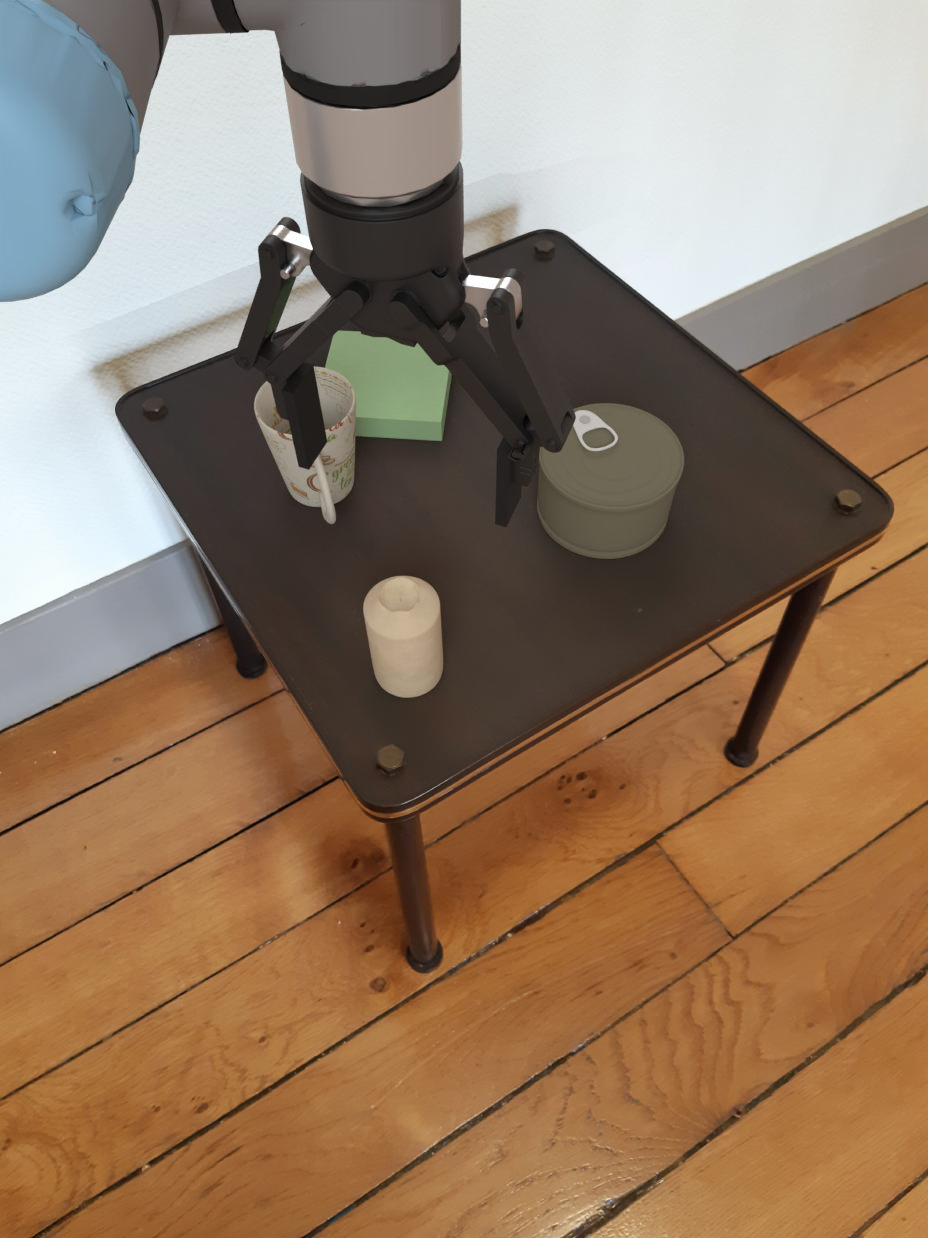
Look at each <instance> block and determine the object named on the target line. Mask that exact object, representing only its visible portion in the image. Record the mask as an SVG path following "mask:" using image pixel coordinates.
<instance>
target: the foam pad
mask: <svg viewBox="0 0 928 1238" xmlns="http://www.w3.org/2000/svg"><path fill="white" fill-rule="evenodd" d="M443 337H444V335H443ZM324 368H327V369H330V370H333V371H335V372H337V373H339V374H341V375H342V376H344V377H345V378H346V379H347V380H348V381H349V382H350V384H351V385H352V387H353V389H354V392H355V397H356V430H355V437H364V438H381V439H396V440H397V439H399V440H412V441H413V440H414V441H416V440H417V441H432V442H442V441H443V437H444V431H445V425H446V419H447V418H446V417H447V410H448V404H449V398H450V390H451V383H452V376H453V375H452V374H451V372H450V371H449V370H448V369H447V368H446V367H445V366H444V365H440V366H438V365H436V364H435V363H434V362H433V361H432V360H431V359H430V357H429V356H428V355H427V354H426V353H425V351H424V350H423V349H422V348H421V347H420V345H419V344H418V343H417V344H416V346H415V347H411V346H407V345H403V344H400V343H398V342H396V341H394V340H392V339H389V338H387V337H371V336H367V335H363V334H361V331H358V330H357V331H356V330H355V331H354V330H340V329H339V330H338V331H337V332H336V333H335V334H334V335H333V336H332V337H331V343H330V346H329V350H328V353H327V358H326V362H325V366H324Z"/></svg>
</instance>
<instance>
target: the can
mask: <svg viewBox="0 0 928 1238" xmlns="http://www.w3.org/2000/svg"><path fill="white" fill-rule="evenodd" d="M573 410H574V413H575V416H576V419H575V422H574V424H573V426H572V428H571V431H570V433H569V435H568V437H567V439H566V442H565V444H564V446H563V448H562V450H561V451H560V452H557V453H552V452H549V451H547V450H546V449H545V448H544V447H540V453H539V466H538V483H537V484H538V485H537V497H536V513H537V517H538V519H539V522H540V524H541V526H542V528H543V530H544V531H545V533H547V535H548V536H549V537H550V538H551V539H552V540H553V541H554V542H556V543H557V544H558V545H560V546H561V547H562V548H564V549H566V550H568V551H570V552H572V553H574V554H577V555H580V556H583V557H587V558H592V559H599V560H615V559H623V558H626V557H627V558H628V557H631V556H634V555H637V554H639V553H641V552H643V551H644V550H646V549H648V548H649V547H651V546H652V545H653V544H654V543H656V541H658V539H659V538H660V537H661V535H662V534H663V532H664V530H665V528H666V526H667V524H668V519H669V515H670V511H671V507H672V504H673V500H674V497H675V494H676V493H675V492H676V490H677V485H678V484H679V482H680V480H681V478H682V475H683V473H684V472H683V471H684V467H685V454H684V449H683V446H682V444H681V442H680V439H679V438H678V436H677V435H676V433H675V432H674V431H673V429H672V428H671V427H670V426H669V425H668V424H667V423H665V422H664V421H663V420H661V419H660V418H658V417H657V416H656V415H654V414H652V413H650V412H648V411H646V410H643V409H640V408H638V407H634V406H631V405H627V404H621V403H612V402H601V403H591V404H586V405H580V406H578V407H575V408H573Z"/></svg>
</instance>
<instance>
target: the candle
mask: <svg viewBox="0 0 928 1238" xmlns="http://www.w3.org/2000/svg"><path fill="white" fill-rule="evenodd" d="M362 606H363V607H362V611H363V618H364V623H365V629H366V634H367V641H368V646H369V647H368V648H369V652H370V658H371V664H372V668H373V674H374V677H375V679H376V681H377V683H378V684H379V686H380V687H381V688H382V689H383V690H384V691H385V692H386V693H389V694H390V695H393V696H395V697H399V698H405V699H406V698H407V699H409V698H410V699H411V698H417V697H420V696H423V695H425V694H427V693H428V692H430V691H432V690H433V689H434V688H435V687H436V686H437V684H438V683H439V681H440V680H441V678H442V675H443V671H444V649H443V632H442V631H443V630H442V629H443V628H442V616H441V615H442V614H441V601H440V597H439V594H438V593H437V591H436V590H435V589H434V587H433V586H432V585H431V584H430V583H428V582H427V581H425V580H423V579H421V578H419V577H416V576H412V575H411V576H410V575H396V576H391V577H388V578H385V579H383V580H381V581H379V582H377V584H375V585H374V586H373V587H372V588H371V589H369V591H368V592H367V594H366V596H365V598H364V601H363V605H362Z"/></svg>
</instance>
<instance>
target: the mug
mask: <svg viewBox="0 0 928 1238" xmlns="http://www.w3.org/2000/svg"><path fill="white" fill-rule="evenodd" d="M314 371H315V376H316V382H317V387H318V393H319V398H320V404H321V409H322V415H323V420H324V426H325V431H326V437H327V443H326V445H325V446H324V448H323V449H322V451H321V452H320V454H319V455H318V457H317V459H316V460H315V462H314V463H313V465H312V466H311V468H310V469H309V470H308V469H304V468H301V467H299V466H298V461H297V457H296V452H295V448H294V443H293V439H292V434H291V430H290V425H289V421H288V420H285V419H282V418H281V417H280V416H279V414H278V412H277V409H276V404H275V401H274V400H275V399H274V397H273V392H272V388H271V384H270V383H268V382H267V381H266V380H265V382H264V383H263V384H262V385H261V386H260V388H259V389H258V391H257V392H256V394H255V398H254V400H253V401H254V402H253V410H254V414H255V417H256V421H257V423H258V425H259V427H260V430H261V432H262V434H263V437H264V439H265V441H266V443H267V446H268V448H269V450H270V452H271V454H272V457H273V459H274V462H275V464H276V466H277V468H278V470H279V472H280V474H281V477H282V479H283V481H284V484H285V486H286V488H287V490H288V492H289V494H290V495H291V496H292V498H293V499H294V500H295V501H297V502H298V503H300V504H302V505H304V506H307V507H313V508H320V509H321V512H322V513H321V514H322V517H323V519H324V520H325V521H326V523H327V524H329V525H334V524H336V521H337V513H336V508H335V505H336V504H337V503H339V502H341V501H343V500H344V499H345V498H347V496H348V495H349V494H350V492H351V491H352V489H353V487H354V483H355V467H356V466H355V463H356V436H355V430H356V397H355V392H354V389H353V387H352V385H351V384H350V382H349V381H348V380H347V379H346V378H345V377H344V376H342V375H341V374H339V373H337V372H335V371H333V370H330V369H327V368H325V367H323V366H322V367H321V366H315V365H314Z"/></svg>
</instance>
